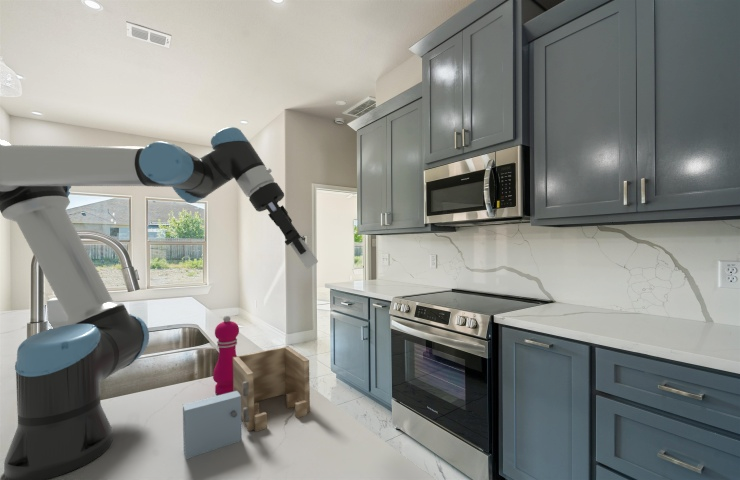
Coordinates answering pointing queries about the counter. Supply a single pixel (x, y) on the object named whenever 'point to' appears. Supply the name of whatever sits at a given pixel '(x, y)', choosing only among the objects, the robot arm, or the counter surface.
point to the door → (211, 423)
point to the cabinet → (271, 383)
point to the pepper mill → (225, 355)
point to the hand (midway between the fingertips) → (313, 265)
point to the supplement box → (56, 313)
